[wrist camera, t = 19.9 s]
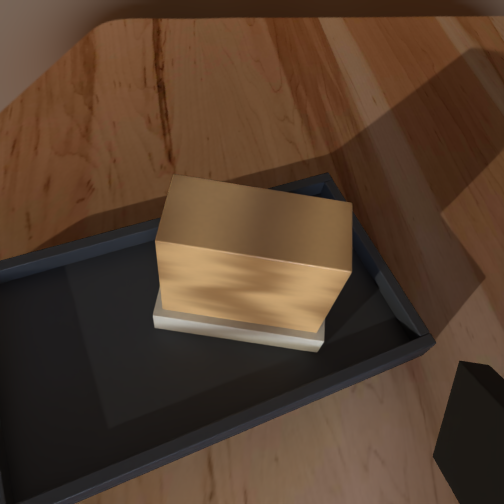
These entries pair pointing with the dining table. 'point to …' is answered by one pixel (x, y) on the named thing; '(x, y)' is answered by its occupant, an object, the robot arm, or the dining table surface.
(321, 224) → the eraser
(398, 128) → the dining table surface
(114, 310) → the tray
